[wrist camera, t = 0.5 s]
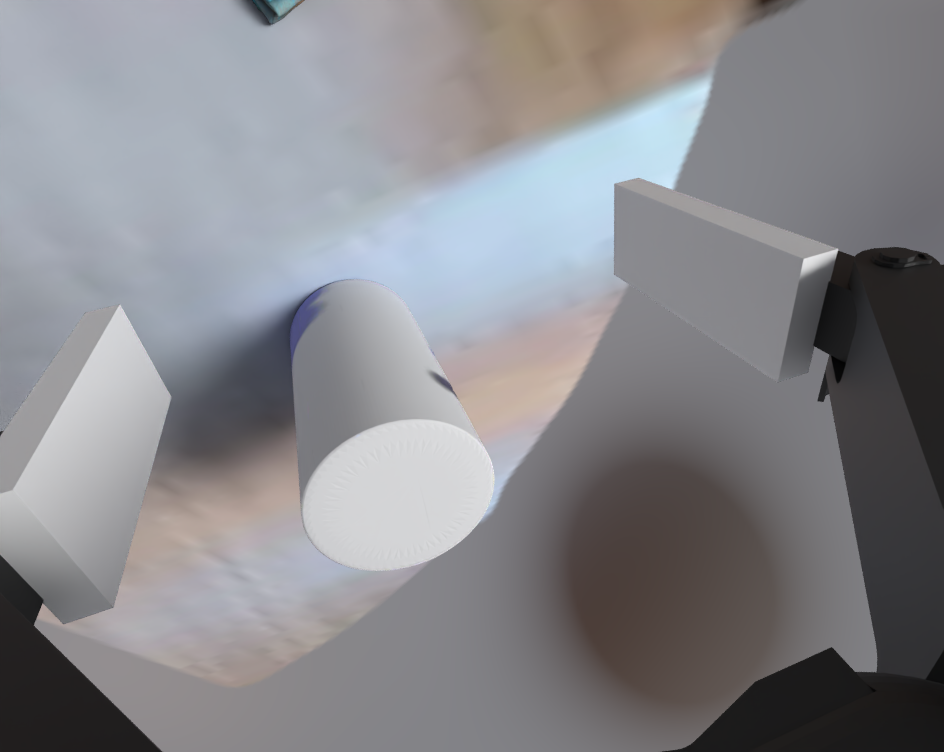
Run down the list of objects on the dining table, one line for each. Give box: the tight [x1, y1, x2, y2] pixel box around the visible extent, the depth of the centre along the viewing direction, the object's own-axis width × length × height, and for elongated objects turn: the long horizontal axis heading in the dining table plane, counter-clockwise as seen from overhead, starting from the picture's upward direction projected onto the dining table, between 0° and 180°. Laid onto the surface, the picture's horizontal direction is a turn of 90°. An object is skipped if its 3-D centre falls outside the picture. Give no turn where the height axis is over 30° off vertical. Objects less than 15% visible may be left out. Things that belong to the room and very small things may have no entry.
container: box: [290, 279, 494, 571], centre depth 36 cm, size 10×10×20 cm
